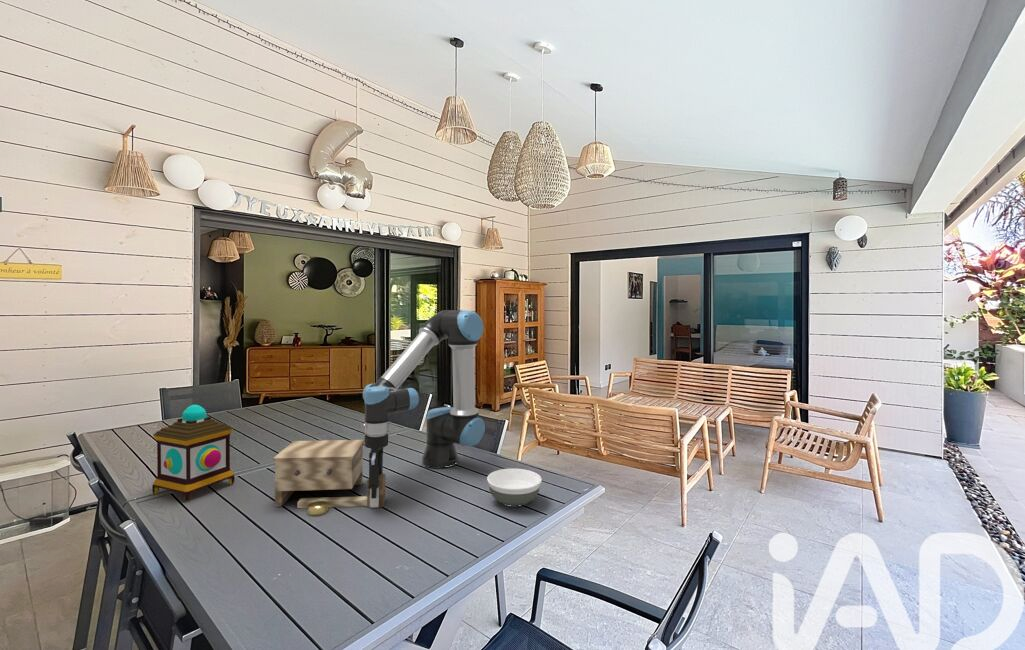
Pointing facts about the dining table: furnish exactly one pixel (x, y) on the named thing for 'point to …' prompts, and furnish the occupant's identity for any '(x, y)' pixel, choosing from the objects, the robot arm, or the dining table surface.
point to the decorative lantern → (192, 453)
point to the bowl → (514, 486)
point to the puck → (317, 508)
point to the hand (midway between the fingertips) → (375, 502)
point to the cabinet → (317, 467)
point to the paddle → (349, 498)
